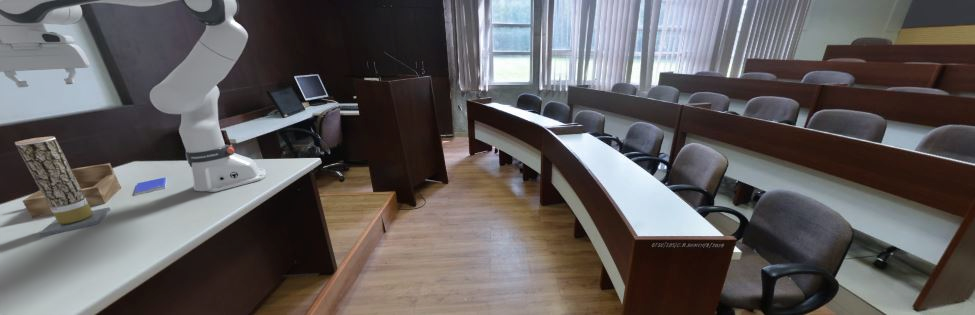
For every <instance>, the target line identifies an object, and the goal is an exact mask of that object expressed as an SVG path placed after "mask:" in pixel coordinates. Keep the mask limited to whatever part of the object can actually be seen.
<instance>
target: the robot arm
mask: <svg viewBox="0 0 975 315" xmlns="http://www.w3.org/2000/svg"><path fill="white" fill-rule="evenodd" d="M177 1H178V0H0V73H3V74H4V76H5V77H7V78H8V79H10V80H11V81H13V82H15V85H16V86H17V88H28V87H29V84H28V82H27V80H21V79H20V78H19V77H17V72H22V71H23V72H24V71H26V72H27V71H46V70H47V71H49V70H50V71H51V70H65V72H66V73H68V75H67V76H68V77H67V78H63V81H64V82H65V84H66V85H75V84H76V80H75V79H74V78H75V76H76V74H77V71H76V69H86V68H89V66H90V61H89V59H88V56H87V55H86V53H85V52H84V51H83V49H82V48H81V47H80V46H79V45H77V44H75V42H76V40H75V38H74V37H73V36H71V35H67V34H62V33H57V32H54V31H48V30H47V29H46V28H45V24H46V25H61V26H67V25H68V26H69V25H75V24H77V23H79V22H80V21H81V20H82V18H83V15H84V14H83V12H84V11H83V8H82V6H83V5H86V4H87V5H88V4H96V3H98V4H99V3H100V4H101V3H102V4H103V3H104V4H113V5H114V4H116V5H123V6H131V7H152V6H158V5H164V4H168V3H171V2H177ZM179 1H180V3H181V4H182V6H183V7H184V8H185V10H187V11H188V13H190V14H191V15H192V16H194V18H196V20H197V21H198V22H199V23H200V24H201V25H204V26H205V30H204V32H203V33H202V35H201V36H200V37H199V39H198V40H197V42H196V44H195V45H194V46H193V48H192V50H191V51H190V52H189V53H188V55H187V56H186V58H185V59H184V60H182V62H181V63H179V65H178V66H177V67H176V68H174V69H173V70H172V71H171V72H170V73H169V74H168V75H167V76H166V77H165V78H164V79H163V80H162V81H161V82H160V83H158V84H156V85H155V86H154V87H152V89H151V90H150V92H149V100H150V103H151V104H152V105H153V106H154V108H156V109H157V110H158V111H160V112H161V113H165V114H169V115H181V119H180V120H181V121H180V124H179V128H178V133H179V135H180V137H181V141H182V143H183V146H184V149H185V152H184V153H185V158H186V161H187V164H188V165H189V167H191V171H192V172H191V173H192V177H193V179H192V180H193V190H194V191H196V192H210V193H216V192H219V191H224V190H227V189H228V190H229V189H232V188H235V187H238V186H243V185H247V184H251V183H254V182H257V181H261V180H263V179H265V178H266V176H267V171H266V169H265V168H262V167H258V165H257V163H256V162H255V161H254V160H253V159H252V158H250V157H247V156H244V155H241V154H238V153H235V149H234V147H233V144H230V145H229V144H227V143H226V144H225V140H224V137H223V134H222V131H221V127H220V122H219V106H218V101H219V97H220V89H219V87H218V86H217V85H218V84H219V83H220V82H222V81H223V80H224V79H225V78H226V77H227V75H228V74H229V72H230V71H231V70H232V68H233V67H234V65H235V64H236V62H238V60H239V58H240V56H241V54H242V53H243V51H244V49H245V48H246V46H247V45H246V44H247V42H248V38H249V34H248V32H247V30H246V29H245V28H244V27H243V26H242V24H240V23H238V22H237V21H236V20H235V19H234V18H235V17H236V16H237V15H238V13H239V11H240V4H239V1H238V0H179ZM81 5H82V6H81Z"/></svg>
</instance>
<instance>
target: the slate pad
mask: <svg viewBox="0 0 975 315" xmlns="http://www.w3.org/2000/svg"><path fill="white" fill-rule="evenodd" d="M110 211H111V208H110V206H108V207H104V208H99V209H94V210H92V212H93V214H92V216H90V217H89V218H87V219H84V220H82V221H79V222H75V223H70V224H60V223H58V221H57V220H56V219H55V220H53V221H52V222H51V223H50V224H48V225H47V226H46V227H45V228H43V229H42V230H41V231H40V232H38V235H39V237H46V236H49V235H54V234H58V233H62V232H63V233H64V232H66V231H67V232H68V231H72V230H77V229H81V228H85V227H90V226H94V225H98V224H99V223H100V221H102V220H103V219H104V217H105V216H107V214H108V213H110Z"/></svg>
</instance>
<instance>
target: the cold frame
mask: <svg viewBox="0 0 975 315" xmlns="http://www.w3.org/2000/svg"><path fill="white" fill-rule="evenodd" d="M71 170H72V172H73V174H74V176H75V178H76V180H77V182H78V184H79V186H80V188H81V190H82V192H83V194H84V196H85V198H86V200H87V202H88V204H89V206H90V207H93V206H98V205H103V204H104V205H105V204H106V203H107V202H108V201H110V200H111V199H112V197H113V196H115V195H116V194H117V193H118V191H120V189H122V185H121V184H120V182H119V180H118V177H117V176H116V172H114V169H113V166H112V165H111V163H110V162H108V163H104V164H96V165H89V166H84V167H77V168H71ZM22 203H23V205H24V207H25V208H26V210H27V211H28V213H29V215H30V217H31V219H34V218H38V217H39V218H40V217H43V216H49V215H54V214H53V212H52V211H51V209H50V207H49V205H48V203H47V202H46V200H45V198H44V196H43V194H42V192H41V191H40V189H39V190H38V191H36V192H34V193H32V194H31V195H29V196H28V197H26V198H24V199H23V200H22Z"/></svg>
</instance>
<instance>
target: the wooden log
mask: <svg viewBox="0 0 975 315" xmlns="http://www.w3.org/2000/svg"><path fill="white" fill-rule="evenodd" d="M14 144H15V146H16V149H17V150H18V152H19V154H20V156H21V158H22V159H23V161H24V163H25V165H26V167H27V169H28V170H29V172H30V174H31V176H32V177H33V178H32V179H34V182H35V183H36V186H37V187H38V189H39V190H40V191H41V192H42V194H43V196H44V198H45V200H46V202H47V203H48V205H49V207H50V209H51V211H52V212H53V214H52V215H54V218H55V220H57V221H58V223H60V224H70V223H75V222H79V221H82V220H84V219H87V218H89V217H90V216H92V214H93V212H92V211H93V210H92V208H91V206H89V204H88V202H87V200H86V198H85V196H84V194H83V192H82V190H81V188H80V186H79V184H78V182H77V180H76V178H75V176H74V174H73V172H72V170H71V169H72V168H71V165H70V164H69V161H68V160H67V158H66V155H65V154H64V152H63V150H62V148H61V146H60V144H59V142H58V140H57V138H56V137H55V135H54V136H53V135H51V136H43V137H40V136H39V137H34V138H28V139H23V140H19V141H18V140H17V141H15V142H14Z"/></svg>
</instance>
